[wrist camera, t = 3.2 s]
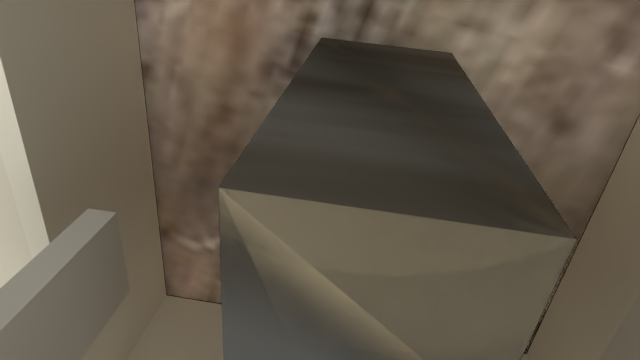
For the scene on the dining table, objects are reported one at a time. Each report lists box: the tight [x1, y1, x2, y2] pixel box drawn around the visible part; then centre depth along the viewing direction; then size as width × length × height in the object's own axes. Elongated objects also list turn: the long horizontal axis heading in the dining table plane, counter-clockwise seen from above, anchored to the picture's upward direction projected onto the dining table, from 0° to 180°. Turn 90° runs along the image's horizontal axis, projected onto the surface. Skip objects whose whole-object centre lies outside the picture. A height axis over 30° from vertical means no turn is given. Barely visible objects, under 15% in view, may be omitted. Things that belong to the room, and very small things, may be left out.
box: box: [218, 38, 577, 360], centre depth 14 cm, size 12×5×12 cm, turn 175°
